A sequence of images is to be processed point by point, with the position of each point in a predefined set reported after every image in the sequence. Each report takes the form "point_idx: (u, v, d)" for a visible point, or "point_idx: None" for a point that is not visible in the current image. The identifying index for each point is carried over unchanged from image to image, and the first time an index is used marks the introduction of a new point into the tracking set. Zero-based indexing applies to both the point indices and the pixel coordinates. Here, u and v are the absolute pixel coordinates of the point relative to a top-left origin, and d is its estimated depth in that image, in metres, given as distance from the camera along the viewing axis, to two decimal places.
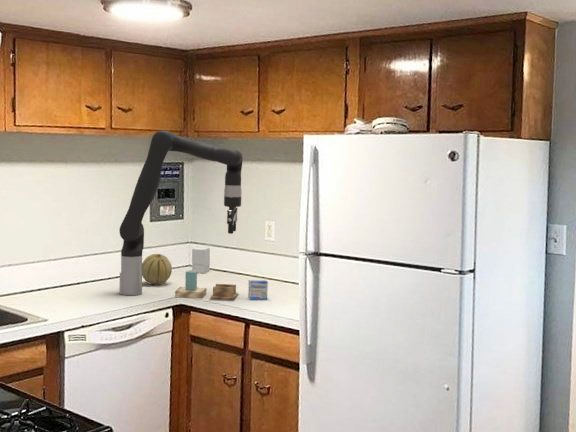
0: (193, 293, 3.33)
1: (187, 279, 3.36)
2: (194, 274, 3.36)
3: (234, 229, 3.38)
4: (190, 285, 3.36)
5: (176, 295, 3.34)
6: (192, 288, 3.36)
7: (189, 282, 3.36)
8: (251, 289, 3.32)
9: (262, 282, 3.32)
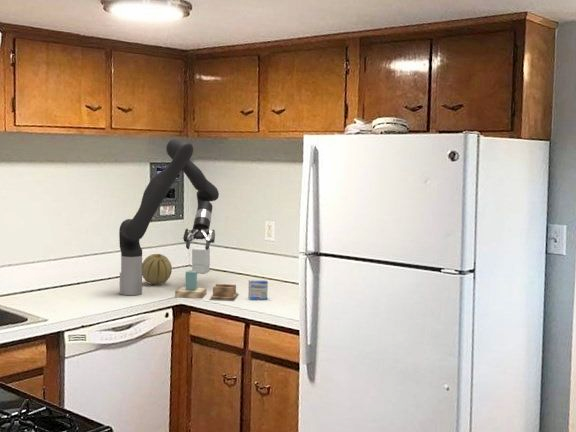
0: (193, 293, 3.33)
1: (187, 279, 3.36)
2: (194, 274, 3.36)
3: None
4: (190, 285, 3.36)
5: (176, 295, 3.34)
6: (192, 288, 3.36)
7: (189, 282, 3.36)
8: (251, 289, 3.32)
9: (262, 282, 3.32)
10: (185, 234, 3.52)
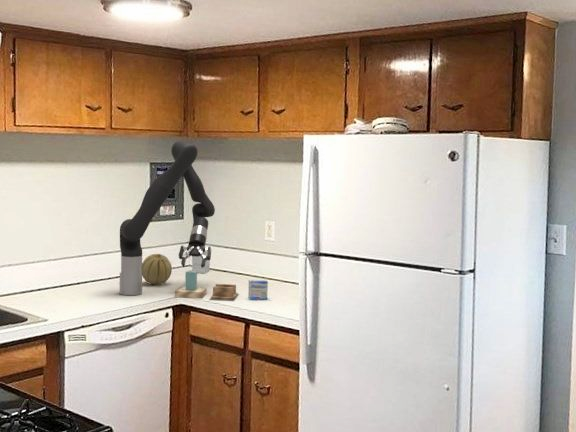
0: (193, 293, 3.33)
1: (187, 279, 3.36)
2: (194, 274, 3.36)
3: (184, 265, 3.41)
4: (190, 285, 3.36)
5: (176, 295, 3.34)
6: (192, 288, 3.36)
7: (189, 282, 3.36)
8: (251, 289, 3.32)
9: (262, 282, 3.32)
10: (180, 251, 3.44)
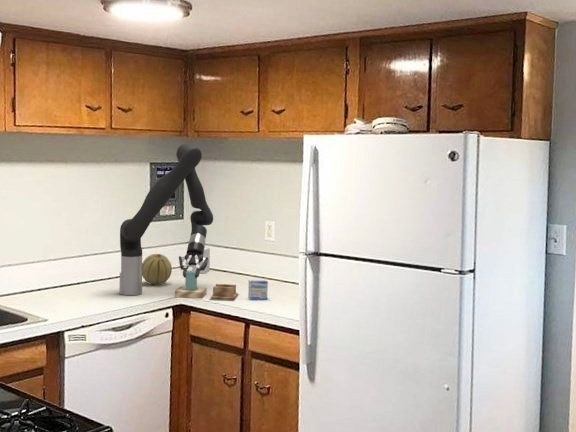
0: (193, 293, 3.33)
1: (187, 279, 3.36)
2: (194, 274, 3.36)
3: (185, 275, 3.37)
4: (190, 285, 3.36)
5: (176, 295, 3.34)
6: (192, 288, 3.36)
7: (189, 282, 3.36)
8: (251, 289, 3.32)
9: (262, 282, 3.32)
10: (180, 262, 3.39)
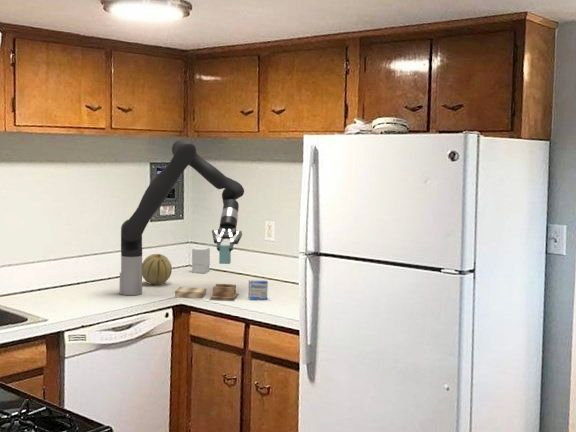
0: (193, 293, 3.33)
1: (221, 253, 3.34)
2: (228, 247, 3.34)
3: (219, 249, 3.34)
4: (224, 258, 3.34)
5: (176, 295, 3.34)
6: (226, 262, 3.34)
7: (223, 255, 3.34)
8: (251, 289, 3.32)
9: (262, 282, 3.32)
10: (214, 235, 3.37)
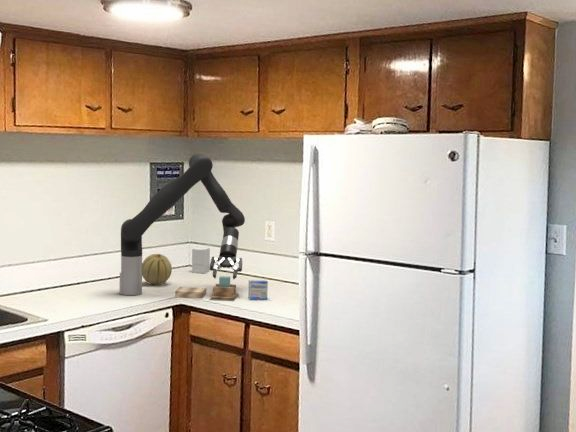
0: (193, 293, 3.33)
1: (221, 284, 3.35)
2: (228, 279, 3.35)
3: (215, 276, 3.36)
4: None
5: (176, 295, 3.34)
6: None
7: None
8: (251, 289, 3.32)
9: (262, 282, 3.32)
10: (211, 262, 3.39)
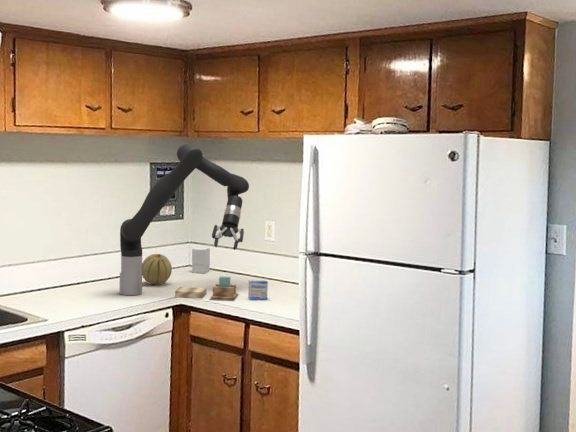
0: (193, 293, 3.33)
1: (221, 284, 3.35)
2: (228, 279, 3.35)
3: None
4: None
5: (176, 295, 3.34)
6: None
7: None
8: (251, 289, 3.32)
9: (262, 282, 3.32)
10: (214, 231, 3.51)
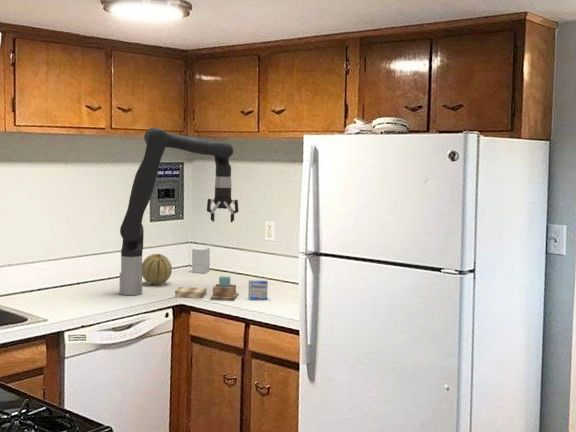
0: (193, 293, 3.33)
1: (221, 284, 3.35)
2: (228, 279, 3.35)
3: None
4: None
5: (176, 295, 3.34)
6: None
7: None
8: (251, 289, 3.32)
9: (262, 282, 3.32)
10: (208, 206, 3.48)
